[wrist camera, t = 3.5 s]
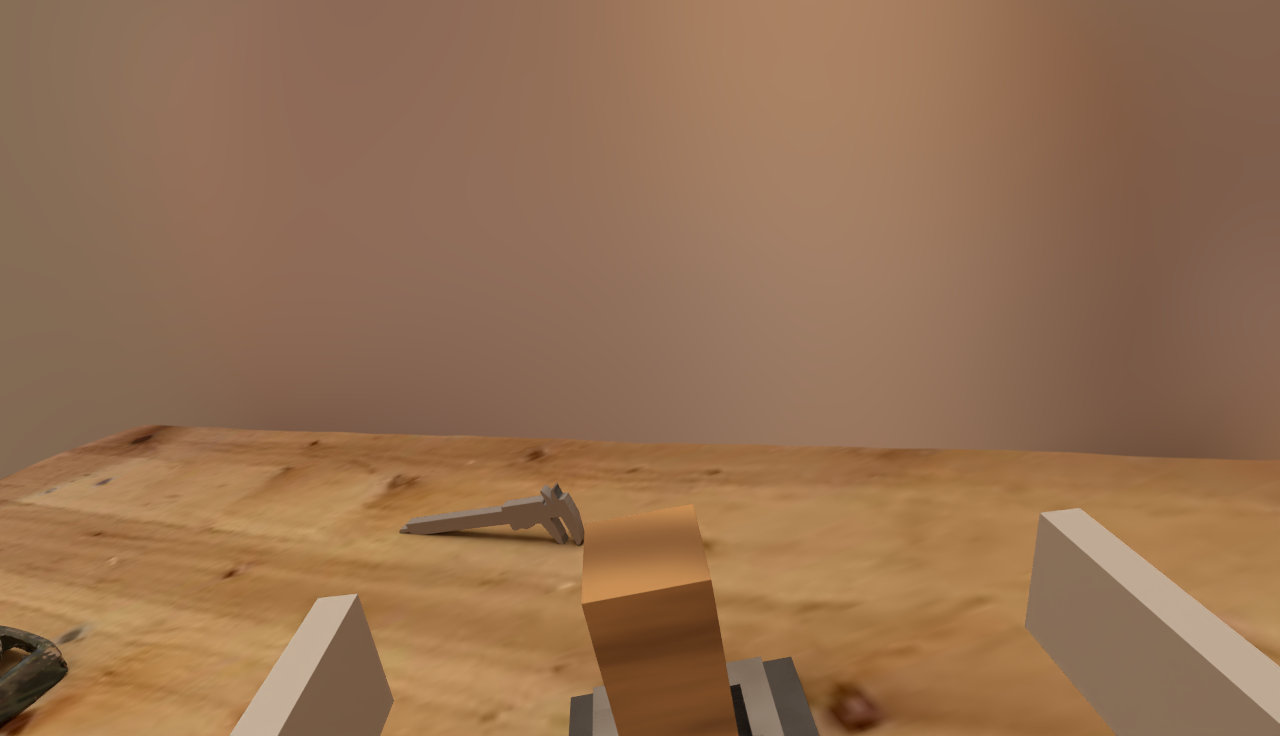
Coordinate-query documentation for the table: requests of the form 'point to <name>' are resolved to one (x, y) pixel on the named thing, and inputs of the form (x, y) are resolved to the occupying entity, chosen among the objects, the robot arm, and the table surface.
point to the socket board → (761, 697)
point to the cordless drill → (28, 670)
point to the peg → (656, 625)
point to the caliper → (511, 516)
